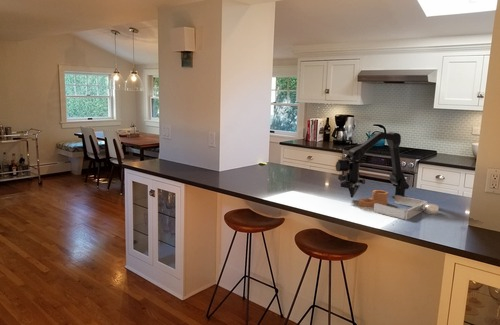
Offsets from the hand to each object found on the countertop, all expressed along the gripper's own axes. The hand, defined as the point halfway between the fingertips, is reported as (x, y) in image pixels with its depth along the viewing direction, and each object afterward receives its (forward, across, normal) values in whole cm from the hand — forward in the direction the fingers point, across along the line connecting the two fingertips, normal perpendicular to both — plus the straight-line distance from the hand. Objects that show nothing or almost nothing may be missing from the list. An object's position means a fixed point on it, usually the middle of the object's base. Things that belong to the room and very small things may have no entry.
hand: (352, 197), depth 219 cm
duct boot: (+1, 0, +28) cm, 28 cm away
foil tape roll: (+2, -9, +41) cm, 42 cm away
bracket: (+2, 0, +13) cm, 13 cm away
